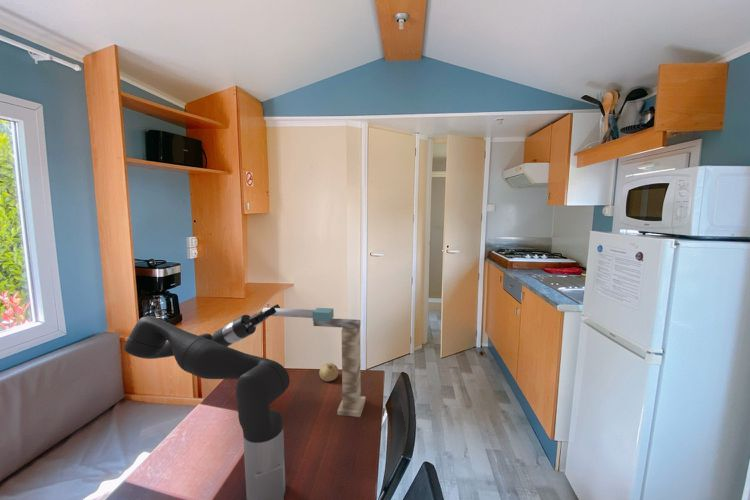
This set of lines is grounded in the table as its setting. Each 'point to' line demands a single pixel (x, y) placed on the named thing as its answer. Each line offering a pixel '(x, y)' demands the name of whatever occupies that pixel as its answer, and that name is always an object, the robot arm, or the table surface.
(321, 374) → the onion
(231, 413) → the table surface
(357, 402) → the rail stand
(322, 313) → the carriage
